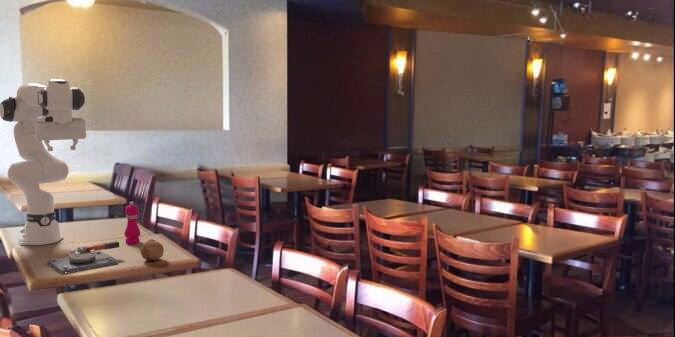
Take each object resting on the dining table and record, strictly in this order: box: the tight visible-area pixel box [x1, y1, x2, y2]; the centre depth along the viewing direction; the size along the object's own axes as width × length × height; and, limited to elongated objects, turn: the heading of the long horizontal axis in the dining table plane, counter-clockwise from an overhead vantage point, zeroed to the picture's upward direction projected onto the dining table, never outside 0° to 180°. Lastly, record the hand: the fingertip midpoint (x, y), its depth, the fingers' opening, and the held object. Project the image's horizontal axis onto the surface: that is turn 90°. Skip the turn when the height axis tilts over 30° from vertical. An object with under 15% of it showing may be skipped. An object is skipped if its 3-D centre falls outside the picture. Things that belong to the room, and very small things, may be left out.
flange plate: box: [47, 250, 119, 274], centre depth 234 cm, size 18×22×2 cm
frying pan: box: [68, 241, 120, 263], centre depth 237 cm, size 20×10×5 cm, turn 133°
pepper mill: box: [123, 201, 141, 245], centre depth 268 cm, size 7×7×20 cm
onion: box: [140, 238, 165, 262], centre depth 240 cm, size 10×9×10 cm
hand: (61, 150), depth 239 cm, fingers open, 8 cm apart
